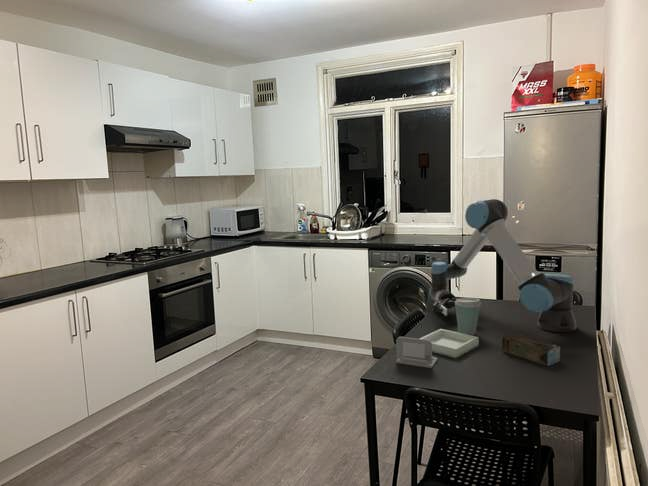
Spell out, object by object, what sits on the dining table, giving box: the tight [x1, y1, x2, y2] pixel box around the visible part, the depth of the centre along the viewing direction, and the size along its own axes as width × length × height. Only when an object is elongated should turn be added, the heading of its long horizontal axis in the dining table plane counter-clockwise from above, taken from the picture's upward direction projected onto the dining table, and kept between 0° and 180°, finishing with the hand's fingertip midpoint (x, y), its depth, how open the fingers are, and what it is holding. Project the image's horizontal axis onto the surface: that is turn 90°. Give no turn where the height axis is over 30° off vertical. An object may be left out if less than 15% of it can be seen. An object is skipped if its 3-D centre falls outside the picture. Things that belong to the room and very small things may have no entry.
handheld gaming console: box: [395, 336, 438, 369], centre depth 181 cm, size 13×9×10 cm
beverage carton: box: [501, 332, 561, 367], centre depth 181 cm, size 8×19×7 cm, turn 34°
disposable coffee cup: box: [454, 297, 482, 336], centre depth 208 cm, size 11×11×15 cm
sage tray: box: [419, 328, 480, 359], centre depth 194 cm, size 17×17×4 cm
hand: (461, 311), depth 212 cm, fingers open, 13 cm apart
